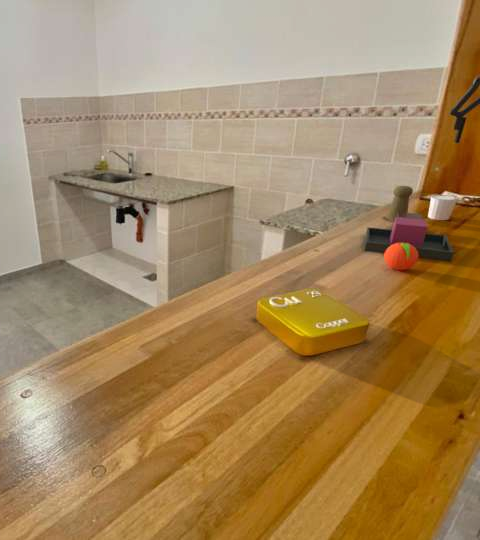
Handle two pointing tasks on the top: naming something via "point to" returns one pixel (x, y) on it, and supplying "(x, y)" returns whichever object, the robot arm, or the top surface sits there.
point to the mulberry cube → (409, 231)
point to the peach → (401, 256)
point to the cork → (399, 201)
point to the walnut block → (409, 215)
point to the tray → (431, 247)
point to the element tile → (311, 321)
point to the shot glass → (441, 207)
